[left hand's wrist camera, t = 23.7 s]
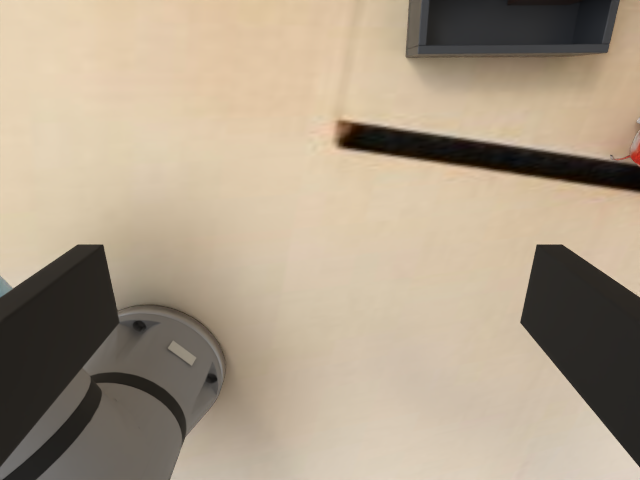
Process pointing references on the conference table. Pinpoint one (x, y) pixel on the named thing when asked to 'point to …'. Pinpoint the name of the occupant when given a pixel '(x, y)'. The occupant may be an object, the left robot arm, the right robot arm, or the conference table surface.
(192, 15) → the conference table surface
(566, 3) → the walnut block
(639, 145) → the fish
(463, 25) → the tray
